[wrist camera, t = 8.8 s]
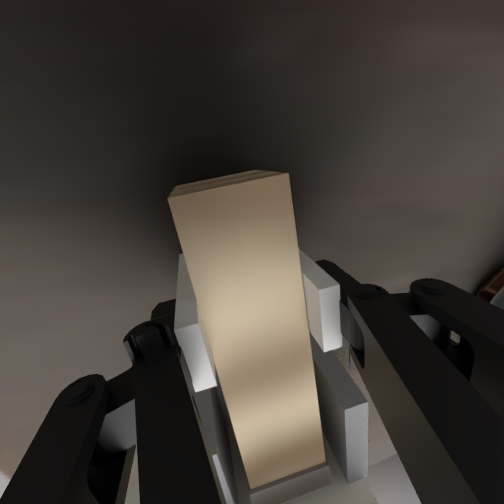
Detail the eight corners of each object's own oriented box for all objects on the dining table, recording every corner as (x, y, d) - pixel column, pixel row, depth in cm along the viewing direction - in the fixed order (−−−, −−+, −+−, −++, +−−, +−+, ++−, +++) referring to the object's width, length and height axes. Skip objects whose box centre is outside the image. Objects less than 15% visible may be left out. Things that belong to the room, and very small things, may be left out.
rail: (173, 186, 13) (163, 199, 8) (257, 169, 14) (293, 172, 9) (238, 422, 19) (255, 513, 14) (296, 402, 19) (331, 483, 14)
